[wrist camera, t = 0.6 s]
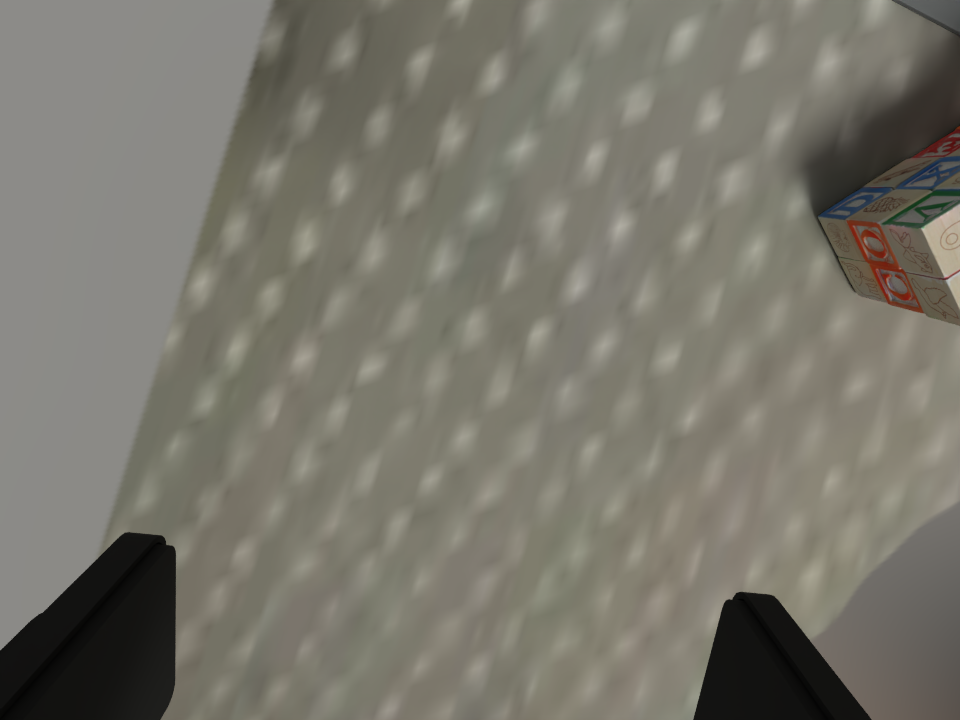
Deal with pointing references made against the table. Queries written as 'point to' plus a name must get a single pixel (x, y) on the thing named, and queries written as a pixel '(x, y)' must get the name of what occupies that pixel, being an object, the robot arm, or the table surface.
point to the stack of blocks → (905, 233)
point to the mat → (937, 12)
